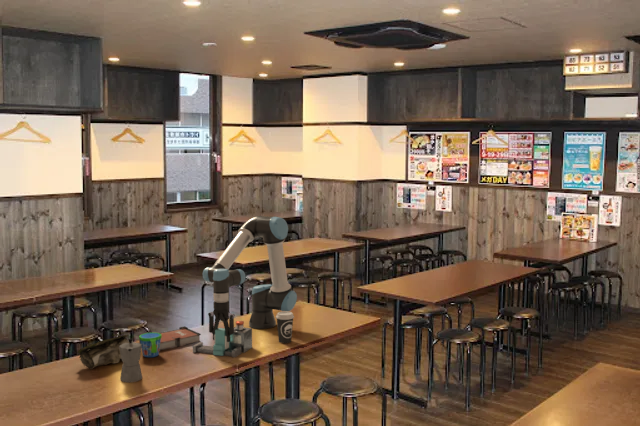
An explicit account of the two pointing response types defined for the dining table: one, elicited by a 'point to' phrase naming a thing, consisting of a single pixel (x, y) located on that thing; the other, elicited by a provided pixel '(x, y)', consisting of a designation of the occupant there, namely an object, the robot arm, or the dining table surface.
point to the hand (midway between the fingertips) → (221, 347)
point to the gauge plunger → (239, 325)
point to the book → (178, 338)
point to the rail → (209, 349)
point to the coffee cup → (284, 326)
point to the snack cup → (150, 344)
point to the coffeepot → (130, 361)
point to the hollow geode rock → (102, 352)
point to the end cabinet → (241, 339)
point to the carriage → (219, 342)
